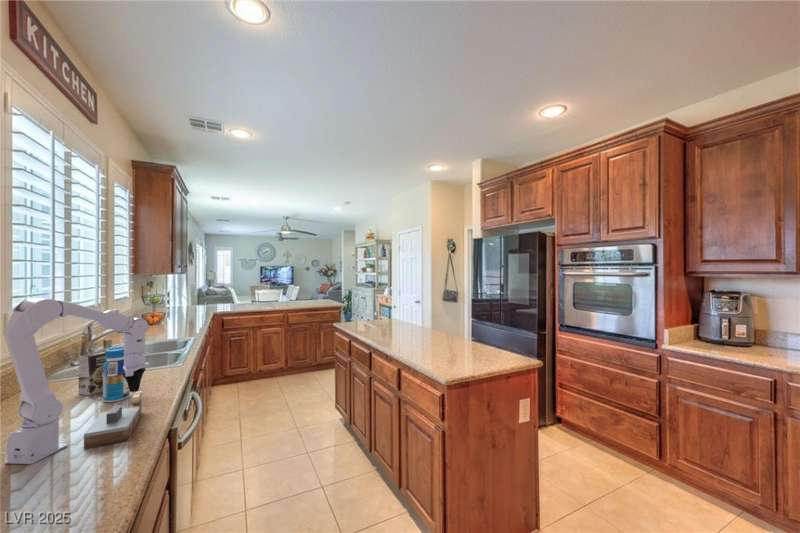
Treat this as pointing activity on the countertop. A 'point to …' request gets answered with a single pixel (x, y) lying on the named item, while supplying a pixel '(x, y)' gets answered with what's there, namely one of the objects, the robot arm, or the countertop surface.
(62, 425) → the countertop surface
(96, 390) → the coffee box
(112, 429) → the lid
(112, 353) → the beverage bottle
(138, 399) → the block
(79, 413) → the countertop surface
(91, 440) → the brown angular frame
